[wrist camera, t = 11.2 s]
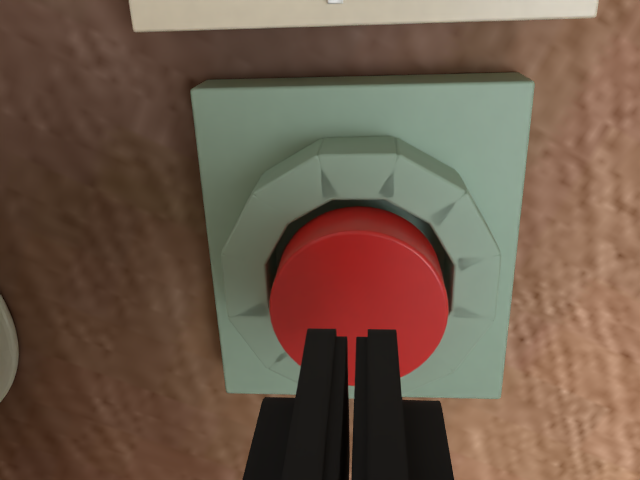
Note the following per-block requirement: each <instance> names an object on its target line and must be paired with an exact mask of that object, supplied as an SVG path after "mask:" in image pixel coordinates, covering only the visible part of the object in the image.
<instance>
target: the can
mask: <svg viewBox="0 0 640 480" xmlns="http://www.w3.org/2000/svg"><path fill="white" fill-rule="evenodd" d="M18 357H19V350H18V339H17V333H16V329H15V325H14V322H13V319H12V317H11V314H10V312H9V310H8V308H7V305H6V303H5V301H4V299H3V298H2V296H1V294H0V402H1V401H2V400H3V398H4V397H5V396H6V394H7V393H8V391H9V389H10V387H11V385H12V383H13V381H14V378H15V375H16V371H17V366H18Z"/></svg>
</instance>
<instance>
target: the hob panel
mask: <svg viewBox="0 0 640 480" xmlns="http://www.w3.org/2000/svg"><path fill="white" fill-rule="evenodd" d="M598 1H599V0H129V6H130V12H131V19H132V26H133V30H134V32H161V31H193V30H226V29H258V28H290V27H322V26H354V25H386V24H419V23H451V22H483V21H515V20H547V19H579V18H594V17H596V15H597V8H598Z"/></svg>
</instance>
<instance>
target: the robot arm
mask: <svg viewBox="0 0 640 480" xmlns="http://www.w3.org/2000/svg"><path fill="white" fill-rule="evenodd" d="M243 480H349V393H348V341H347V336H337V332H336V329H317V328H308V329H307V333H306V339H305V345H304V350H303V356H302V362H301V368H300V374H299V379H298V385H297V391H296V397H295V398H277V397H265V398H264V399H263V401H262V404H261V408H260V412H259V416H258V420H257V424H256V428H255V432H254V436H253V440H252V444H251V448H250V452H249V456H248V460H247V464H246V468H245V472H244V476H243ZM352 480H454V477H453V471H452V465H451V459H450V453H449V447H448V441H447V436H446V430H445V424H444V418H443V412H442V407H441V403H440V401H420V400H402V393H401V381H400V368H399V355H398V343H397V331H396V329H368V337H356V360H355V390H354V420H353V450H352Z"/></svg>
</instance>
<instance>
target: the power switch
mask: <svg viewBox="0 0 640 480" xmlns="http://www.w3.org/2000/svg"><path fill="white" fill-rule="evenodd" d="M534 86H535V84H534V81H532V80H531V79H529V78H527V77H525V76H524V75H522V74H520V73H518V72H510V73H468V74H426V75H384V76H342V77H301V78H259V79H217V80H206V81H204V82H203V83H201V84H199V85H197V86H196V87H194V88H192V89H191V91H190V93H191V101H192V110H193V118H194V126H195V135H196V143H197V152H198V160H199V168H200V177H201V185H202V194H203V202H204V210H205V219H206V227H207V236H208V244H209V252H210V261H211V269H212V278H213V286H214V294H215V303H216V311H217V320H218V328H219V337H220V345H221V353H222V362H223V370H224V379H225V387H226V392H227V393H243V394H290V395H296V391H297V385H298V379H299V374H300V368H301V366H300V365H298V364H297V363H296V362H295V361H294V360H293V359H292V358H291V357H290V356H289V355H288V354H287V353H286V351H285V350H284V349H283V347H282V346H281V344H280V342H279V341H278V339H277V337H276V335H275V332H274V330H273V327H272V323H271V319H270V312H269V300H270V293H271V289H272V285H273V282H274V279H275V276H276V273H277V270H278V267H279V263H280V260H281V257H282V254H283V252H284V250H285V248H286V246H287V244H288V243H289V241H290V240H291V238H292V237H293V236H294V235H295V233H296V232H297V231H298V230H299V229H300V228H301V227H303V226H304V225H305V224H306V223H307V222H309V221H310V220H312V219H314V218H315V217H317V216H319V215H321V214H323V213H325V212H328V211H332V210H335V209H339V208H344V207H354V206H364V207H373V208H379V209H383V210H386V211H389V212H392V213H394V214H396V215H399V216H401V217H402V218H404V219H406V220H407V221H409V222H411V223H412V224H413V225H414V226H415V227H417V228H418V229H419V230H420V231H421V232H422V233H423V234H424V235H425V237H426V238H427V239H428V241H429V242H430V244H431V245H432V247H433V249H434V251H435V253H436V255H437V258H438V261H439V264H440V268H441V272H442V276H443V280H444V284H445V288H446V292H447V297H448V308H449V314H448V321H447V325H446V329H445V332H444V335H443V337H442V339H441V341H440V343H439V345H438V346H437V348H436V349H435V351H434V352H433V353H432V355H431V356H430V357H429V358H428V359H427V360H426V361H425V362H424V363H423V364H422V365H421V366H419V367H418V368H417V369H415V370H414V371H412V372H411V373H409V374H407V375H405V376H403V377H401V378H400V381H401V393H402V397H431V398H478V399H499V398H500V397H501V391H502V382H503V373H504V363H505V354H506V345H507V336H508V326H509V317H510V308H511V299H512V289H513V280H514V271H515V262H516V252H517V243H518V234H519V225H520V215H521V206H522V197H523V188H524V179H525V169H526V160H527V151H528V142H529V132H530V123H531V114H532V105H533V95H534ZM354 390H355V386H349V385H348V393H349V398H354Z"/></svg>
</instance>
